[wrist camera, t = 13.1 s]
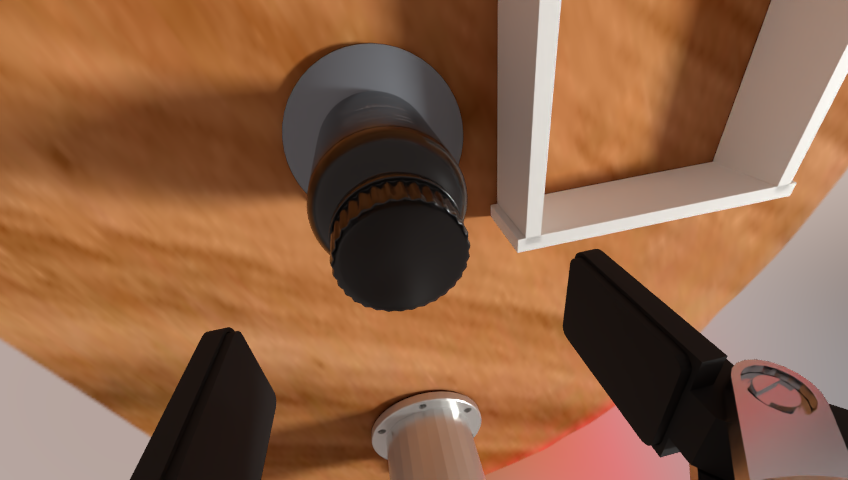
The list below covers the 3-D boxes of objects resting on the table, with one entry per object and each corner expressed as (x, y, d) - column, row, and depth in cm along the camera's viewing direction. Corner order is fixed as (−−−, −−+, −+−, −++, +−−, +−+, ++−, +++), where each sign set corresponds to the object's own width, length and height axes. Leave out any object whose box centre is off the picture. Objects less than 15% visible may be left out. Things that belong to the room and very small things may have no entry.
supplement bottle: (301, 173, 21) (262, 306, 11) (344, 65, 19) (342, 115, 9) (400, 213, 24) (437, 348, 14) (449, 123, 21) (539, 212, 11)
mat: (464, 203, 25) (466, 207, 25) (314, 232, 24) (313, 237, 24) (455, 30, 19) (458, 30, 19) (254, 58, 18) (251, 59, 18)
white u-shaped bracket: (724, 170, 28) (789, 195, 24) (490, 216, 26) (517, 252, 22) (815, -62, 20) (935, -83, 16) (488, -19, 18) (530, -31, 14)
